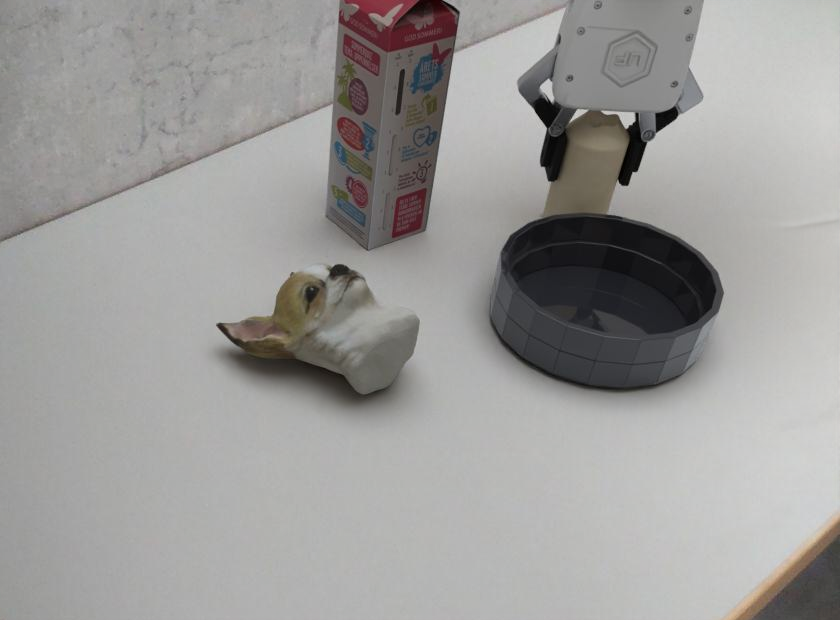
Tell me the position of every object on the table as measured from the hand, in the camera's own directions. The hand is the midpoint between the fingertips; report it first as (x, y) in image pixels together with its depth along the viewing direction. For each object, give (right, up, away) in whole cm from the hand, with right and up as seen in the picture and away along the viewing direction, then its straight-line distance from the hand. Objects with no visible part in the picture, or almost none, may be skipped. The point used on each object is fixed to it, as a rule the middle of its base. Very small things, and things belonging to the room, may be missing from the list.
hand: (585, 174), depth 83 cm
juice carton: (-18, -3, +4) cm, 19 cm away
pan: (-1, -14, -5) cm, 15 cm away
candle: (0, -3, +4) cm, 5 cm away
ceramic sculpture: (-23, -18, -9) cm, 31 cm away
